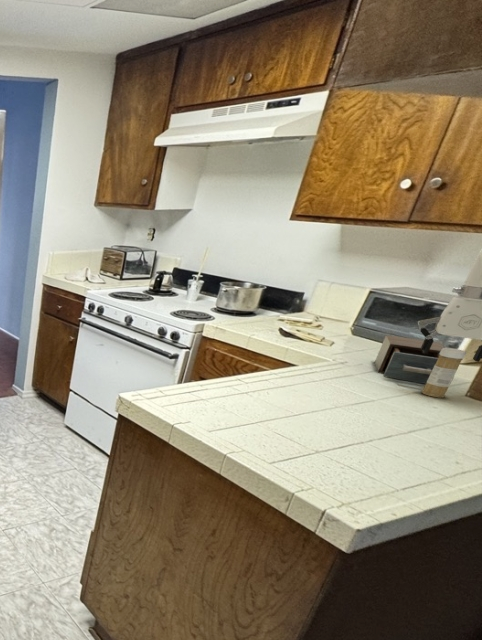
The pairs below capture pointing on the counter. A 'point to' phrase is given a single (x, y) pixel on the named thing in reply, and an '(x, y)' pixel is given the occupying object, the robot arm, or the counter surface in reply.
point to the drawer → (410, 364)
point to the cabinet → (401, 343)
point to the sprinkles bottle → (443, 372)
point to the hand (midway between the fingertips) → (449, 356)
